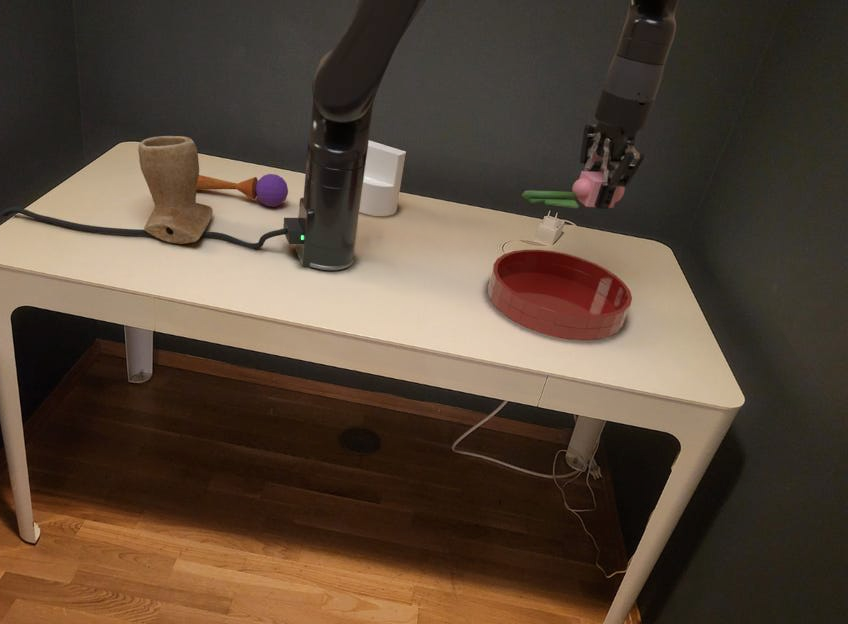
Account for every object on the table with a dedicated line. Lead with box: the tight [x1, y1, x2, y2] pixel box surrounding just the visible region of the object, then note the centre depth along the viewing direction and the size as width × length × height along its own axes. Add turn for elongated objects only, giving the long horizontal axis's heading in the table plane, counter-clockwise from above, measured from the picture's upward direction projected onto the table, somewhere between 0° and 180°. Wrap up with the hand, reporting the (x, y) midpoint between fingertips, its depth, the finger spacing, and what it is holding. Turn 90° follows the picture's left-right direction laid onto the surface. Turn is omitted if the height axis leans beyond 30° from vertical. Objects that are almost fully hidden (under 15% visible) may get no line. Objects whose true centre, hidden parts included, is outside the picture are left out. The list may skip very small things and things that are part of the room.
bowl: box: [487, 249, 633, 341], centre depth 121 cm, size 22×22×4 cm
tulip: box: [521, 170, 626, 209], centre depth 115 cm, size 17×6×4 cm, turn 105°
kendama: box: [196, 173, 289, 207], centre depth 140 cm, size 6×6×20 cm
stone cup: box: [137, 135, 214, 245], centre depth 124 cm, size 15×12×15 cm
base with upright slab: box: [359, 139, 407, 217], centre depth 144 cm, size 9×9×12 cm
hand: (593, 201), depth 117 cm, fingers closed on tulip, 4 cm apart
